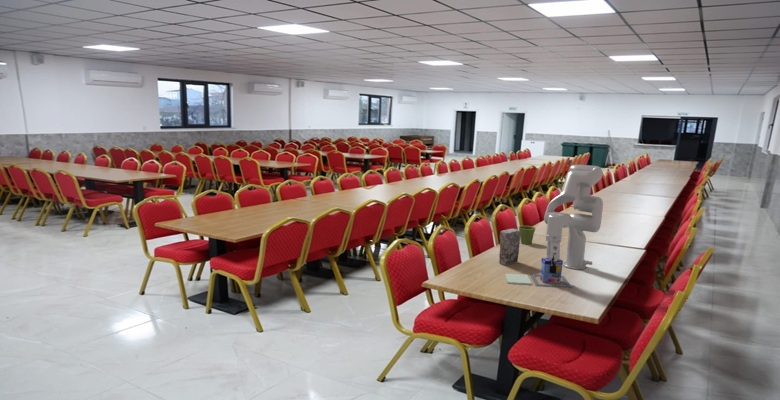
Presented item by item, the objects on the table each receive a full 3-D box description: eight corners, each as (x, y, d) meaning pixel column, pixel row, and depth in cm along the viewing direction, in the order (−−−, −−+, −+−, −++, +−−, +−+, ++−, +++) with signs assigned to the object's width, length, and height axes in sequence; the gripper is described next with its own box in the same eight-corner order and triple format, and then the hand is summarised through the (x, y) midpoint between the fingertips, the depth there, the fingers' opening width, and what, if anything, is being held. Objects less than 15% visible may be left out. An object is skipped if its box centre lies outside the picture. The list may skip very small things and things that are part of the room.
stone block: (507, 266, 277) (510, 232, 274) (497, 263, 282) (499, 230, 278) (519, 261, 286) (521, 229, 283) (509, 259, 291) (511, 227, 288)
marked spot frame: (563, 276, 260) (563, 276, 260) (572, 287, 243) (572, 287, 243) (529, 274, 262) (530, 274, 262) (535, 285, 245) (535, 285, 245)
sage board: (527, 276, 260) (527, 274, 260) (531, 284, 246) (531, 283, 246) (504, 274, 261) (504, 273, 261) (507, 283, 247) (508, 281, 247)
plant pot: (520, 240, 339) (521, 224, 337) (537, 243, 332) (538, 227, 330) (514, 243, 330) (515, 227, 328) (531, 246, 323) (532, 230, 321)
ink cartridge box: (543, 283, 249) (545, 256, 247) (539, 279, 255) (541, 253, 252) (561, 282, 250) (563, 256, 248) (556, 279, 256) (559, 253, 253)
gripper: (565, 242, 240) (562, 276, 243) (557, 234, 257) (554, 266, 260) (549, 241, 241) (547, 275, 244) (543, 234, 258) (540, 265, 261)
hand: (551, 270), depth 252 cm, fingers open, 7 cm apart
